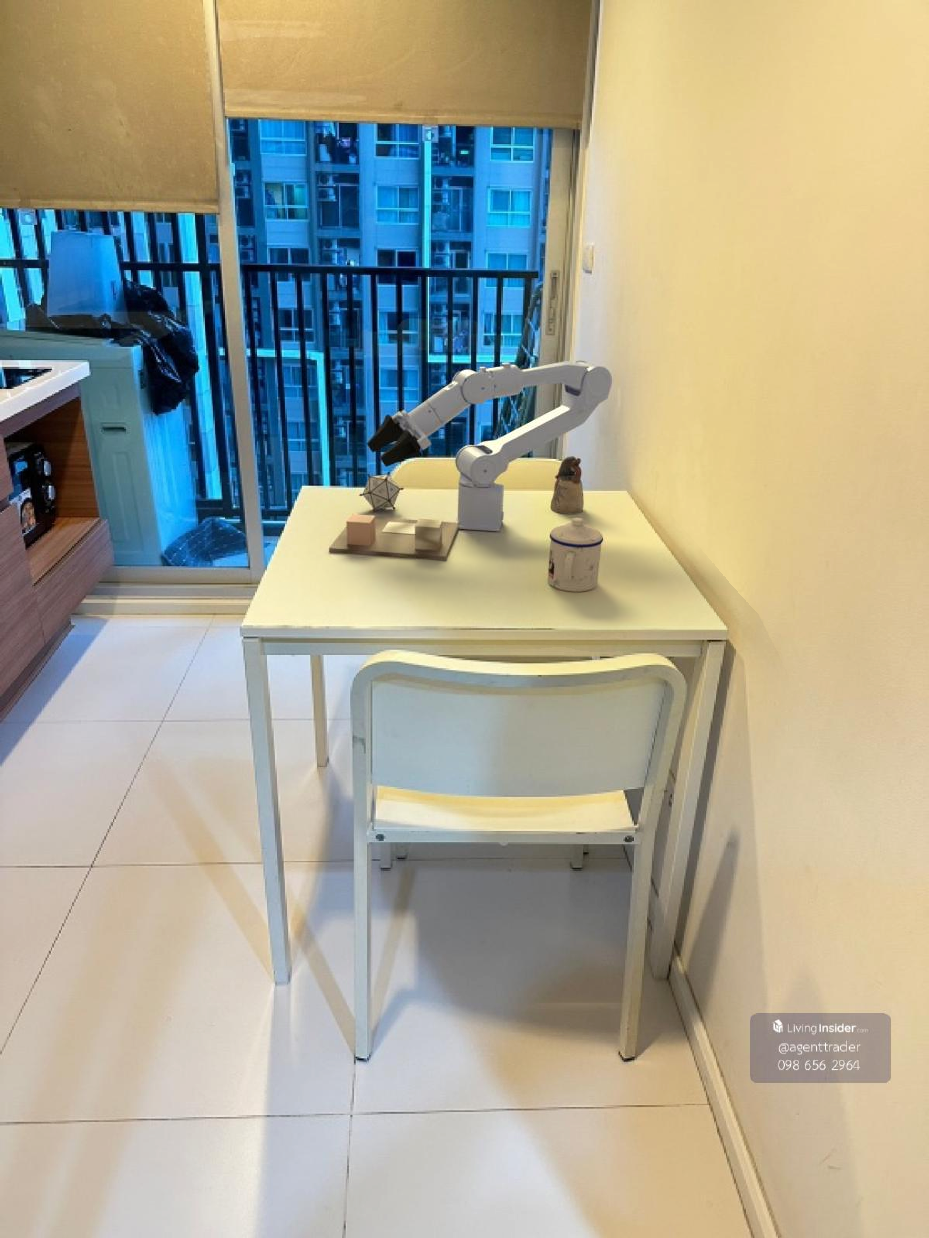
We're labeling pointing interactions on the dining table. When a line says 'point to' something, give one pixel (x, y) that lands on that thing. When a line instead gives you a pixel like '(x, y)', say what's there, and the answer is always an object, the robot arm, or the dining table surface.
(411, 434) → the robot arm
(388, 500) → the game die
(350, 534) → the terracotta block
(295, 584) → the dining table surface
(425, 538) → the birch block
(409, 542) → the brown wooden board
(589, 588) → the teacup with lid
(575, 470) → the figurine
